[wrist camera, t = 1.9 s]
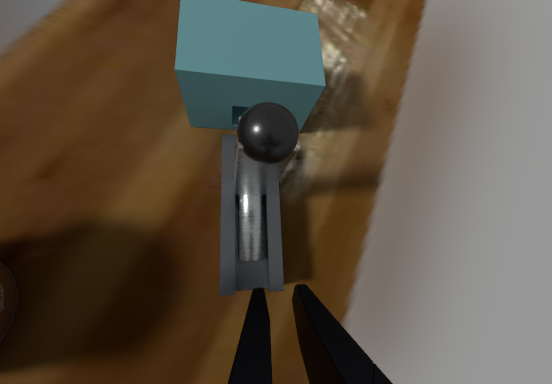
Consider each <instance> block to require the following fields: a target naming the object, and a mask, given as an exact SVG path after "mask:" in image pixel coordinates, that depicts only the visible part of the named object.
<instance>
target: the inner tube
mask: <svg viewBox="0 0 552 384" xmlns="http://www.w3.org/2000/svg"><path fill="white" fill-rule="evenodd" d="M298 136H299V131H298V125H297V122H296V119H295V117H294V115H293V114H292V113H291V112H290V110H289V109H287V108H286V107H285V106H283V105H282V104H280V103H277V102H273V101H263V102H258V103H256V104H254V105H252V106H251V107H249V108H248V109H247V110H246V111H245V112H244V113H243V115H242V116H241V117H239V123H238V128H237V148H236V160H235V172H234V194H238V261H257V260H264V239H263V205H262V195H268V194H269V193H270V191H271V190H272V188H273V187H274V185H275V183H276V182H277V180H278V179H279V177H280V176H281V174H282V173H283V171H284V170H285V168H286V166H287V165H288V163H289V162H290V160H291V159H292V157H293V156H294V154H295V153H296V151H297V149H296V144H297V141H298Z"/></svg>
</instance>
